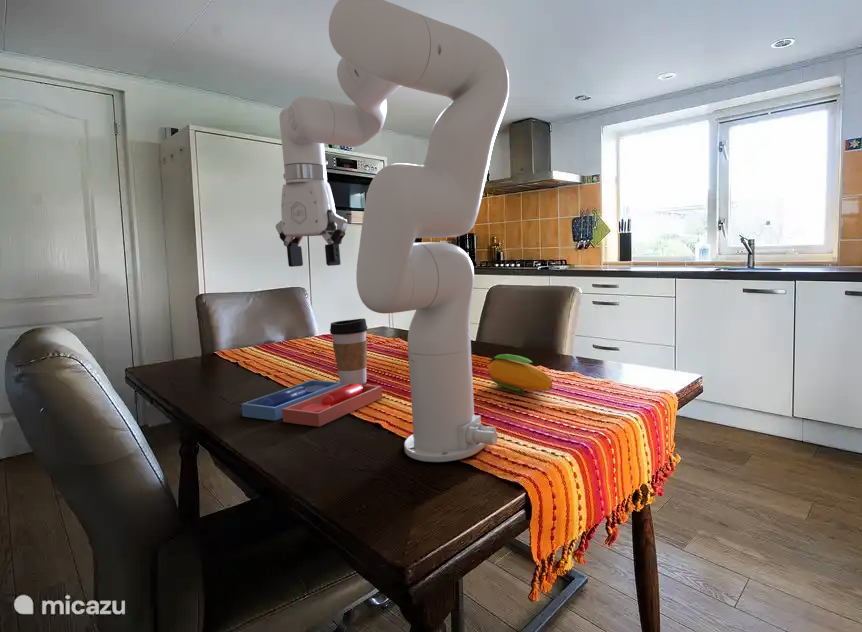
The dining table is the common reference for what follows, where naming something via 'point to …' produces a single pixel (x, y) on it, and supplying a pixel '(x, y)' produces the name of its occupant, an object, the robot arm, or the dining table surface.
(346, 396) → the red spoon
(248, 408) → the blue tray
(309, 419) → the rose tray
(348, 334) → the coffee cup
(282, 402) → the blue spoon
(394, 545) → the dining table surface
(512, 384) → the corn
